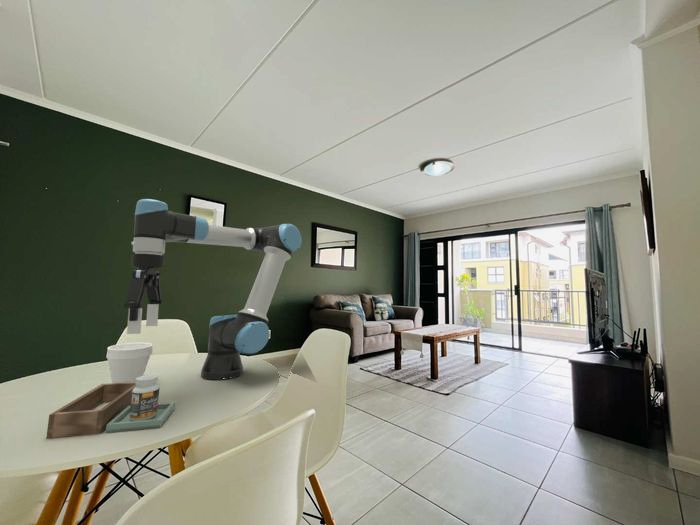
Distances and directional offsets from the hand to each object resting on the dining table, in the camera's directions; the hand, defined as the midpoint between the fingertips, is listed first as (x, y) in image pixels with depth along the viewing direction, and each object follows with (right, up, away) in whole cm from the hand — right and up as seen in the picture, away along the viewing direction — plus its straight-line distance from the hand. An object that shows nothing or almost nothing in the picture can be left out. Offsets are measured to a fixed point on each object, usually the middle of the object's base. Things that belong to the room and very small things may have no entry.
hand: (143, 329), depth 79 cm
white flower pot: (-17, -23, +15) cm, 32 cm away
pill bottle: (+5, -21, -7) cm, 23 cm away
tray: (+5, -22, -7) cm, 23 cm away
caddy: (-8, -21, -5) cm, 23 cm away
